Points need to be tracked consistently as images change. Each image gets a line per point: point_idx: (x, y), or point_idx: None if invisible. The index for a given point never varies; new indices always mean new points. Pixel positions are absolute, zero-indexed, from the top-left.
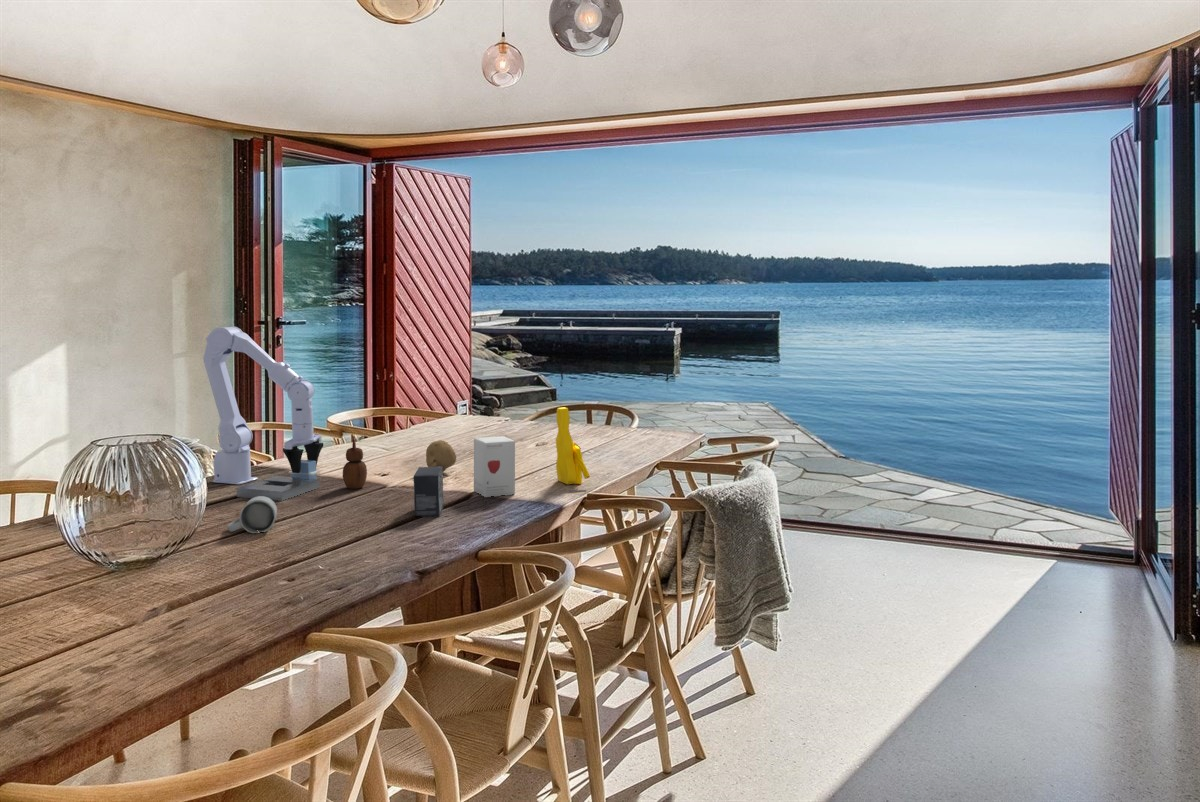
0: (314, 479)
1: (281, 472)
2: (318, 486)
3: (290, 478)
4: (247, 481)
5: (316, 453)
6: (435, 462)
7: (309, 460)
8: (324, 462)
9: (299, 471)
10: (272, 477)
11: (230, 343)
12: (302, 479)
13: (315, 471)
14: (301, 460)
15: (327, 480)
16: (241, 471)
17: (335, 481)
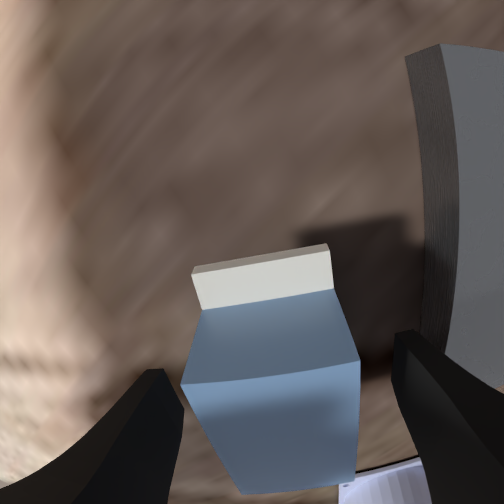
0: (458, 80)
1: (189, 486)
2: (416, 53)
3: (486, 293)
4: (406, 463)
5: (103, 472)
6: None
7: (215, 439)
8: (12, 441)
9: (408, 336)
10: None
11: None
12: (496, 181)
13: (232, 292)
14: (262, 475)
15: (149, 213)
16: (429, 497)
17: (138, 129)
